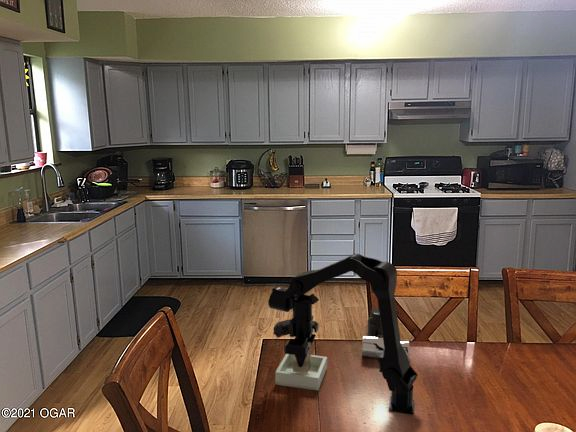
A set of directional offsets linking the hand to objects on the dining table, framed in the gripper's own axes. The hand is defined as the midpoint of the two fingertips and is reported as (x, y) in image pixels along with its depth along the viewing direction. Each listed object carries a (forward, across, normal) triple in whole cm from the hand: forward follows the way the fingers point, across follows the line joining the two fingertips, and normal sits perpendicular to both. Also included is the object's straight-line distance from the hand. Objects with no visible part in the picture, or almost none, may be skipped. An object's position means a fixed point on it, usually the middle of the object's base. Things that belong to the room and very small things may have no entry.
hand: (302, 362), depth 146 cm
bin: (+4, 0, 0) cm, 5 cm away
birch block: (+2, 0, 0) cm, 2 cm away
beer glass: (+2, -20, +31) cm, 37 cm away
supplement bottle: (+5, -28, +20) cm, 35 cm away
